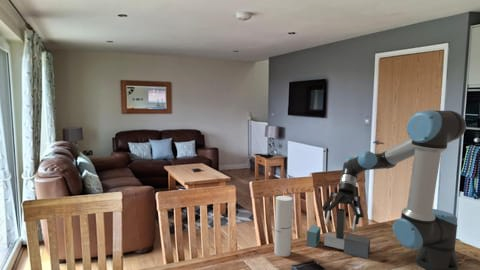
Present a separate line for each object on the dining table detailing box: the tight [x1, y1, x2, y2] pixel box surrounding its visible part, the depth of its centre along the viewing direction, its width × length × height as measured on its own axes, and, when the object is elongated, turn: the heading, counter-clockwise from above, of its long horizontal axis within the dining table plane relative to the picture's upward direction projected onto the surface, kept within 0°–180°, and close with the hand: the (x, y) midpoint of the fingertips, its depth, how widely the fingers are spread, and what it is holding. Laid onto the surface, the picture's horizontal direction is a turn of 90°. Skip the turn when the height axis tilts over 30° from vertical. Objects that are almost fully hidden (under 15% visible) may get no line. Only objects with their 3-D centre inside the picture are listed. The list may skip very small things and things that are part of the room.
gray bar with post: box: [323, 208, 346, 251], centre depth 146 cm, size 18×5×17 cm, turn 62°
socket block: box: [306, 224, 322, 248], centre depth 153 cm, size 4×8×7 cm, turn 152°
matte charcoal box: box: [343, 232, 371, 260], centre depth 144 cm, size 10×7×7 cm
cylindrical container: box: [274, 195, 293, 258], centre depth 142 cm, size 7×7×25 cm
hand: (339, 227), depth 144 cm, fingers open, 11 cm apart
